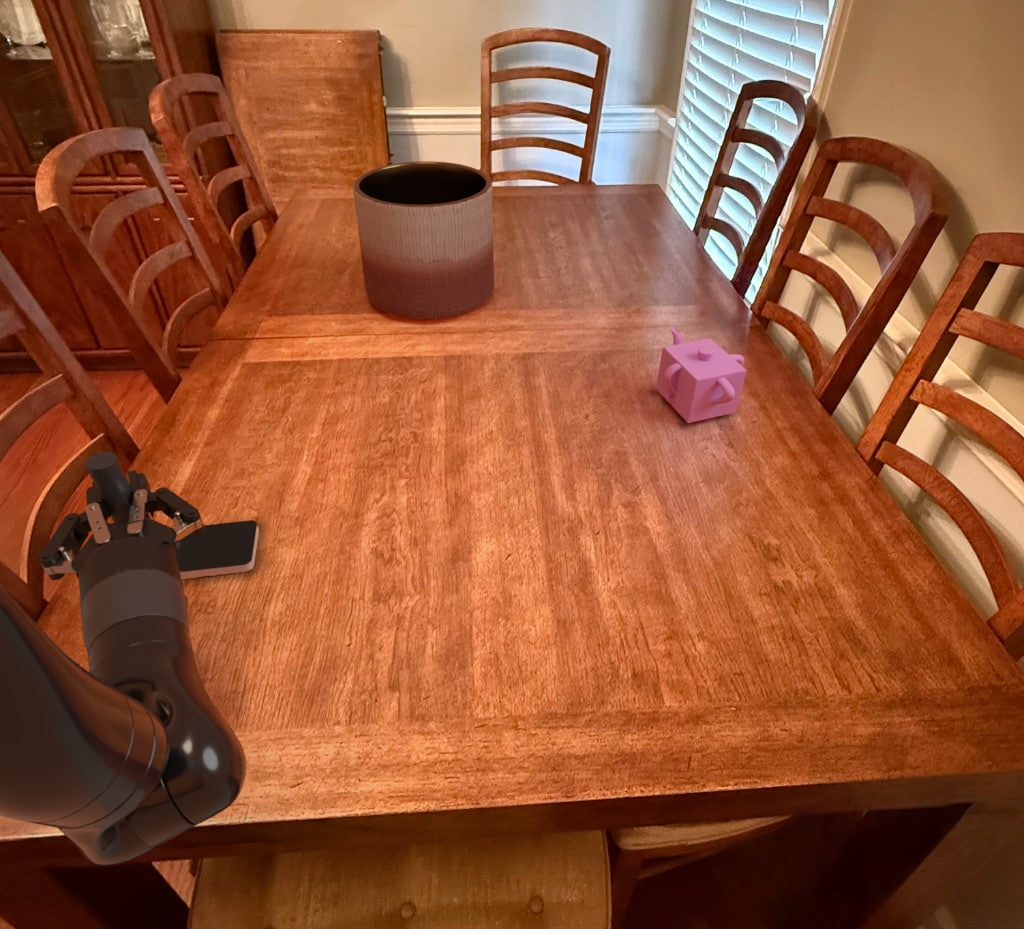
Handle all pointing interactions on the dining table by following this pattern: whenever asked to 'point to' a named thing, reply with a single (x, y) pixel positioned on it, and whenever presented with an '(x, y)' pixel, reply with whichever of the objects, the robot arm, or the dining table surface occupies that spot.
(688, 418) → the teapot
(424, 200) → the planter
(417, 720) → the dining table surface
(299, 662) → the dining table surface
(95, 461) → the dark grey cylinder
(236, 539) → the smartphone
